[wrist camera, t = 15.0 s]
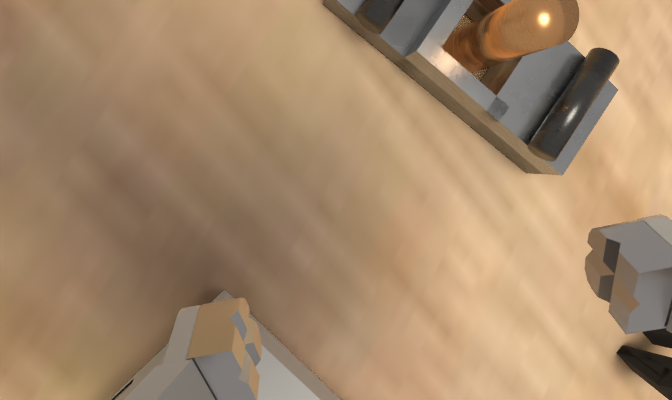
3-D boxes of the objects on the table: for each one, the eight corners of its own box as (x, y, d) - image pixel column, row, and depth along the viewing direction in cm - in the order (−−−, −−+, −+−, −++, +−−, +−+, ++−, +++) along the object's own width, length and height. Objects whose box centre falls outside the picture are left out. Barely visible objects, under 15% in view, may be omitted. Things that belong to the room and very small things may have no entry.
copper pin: (430, 57, 33) (515, 19, 24) (454, 22, 34) (549, -31, 24) (462, 84, 34) (557, 58, 25) (486, 49, 34) (589, 10, 25)
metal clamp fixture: (321, 6, 31) (343, -27, 25) (385, -86, 32) (422, -139, 26) (524, 175, 36) (582, 179, 30) (577, 94, 37) (644, 83, 31)
